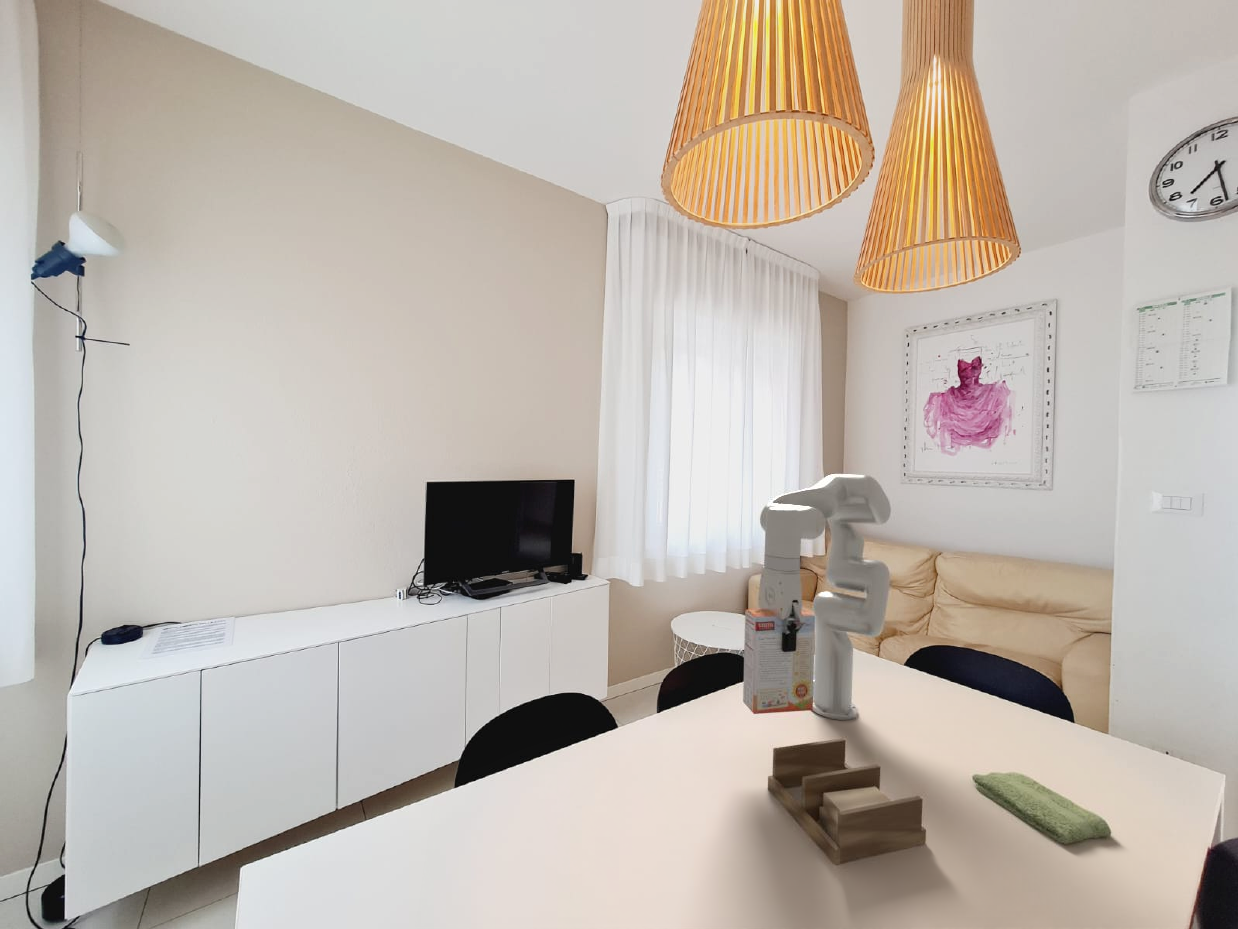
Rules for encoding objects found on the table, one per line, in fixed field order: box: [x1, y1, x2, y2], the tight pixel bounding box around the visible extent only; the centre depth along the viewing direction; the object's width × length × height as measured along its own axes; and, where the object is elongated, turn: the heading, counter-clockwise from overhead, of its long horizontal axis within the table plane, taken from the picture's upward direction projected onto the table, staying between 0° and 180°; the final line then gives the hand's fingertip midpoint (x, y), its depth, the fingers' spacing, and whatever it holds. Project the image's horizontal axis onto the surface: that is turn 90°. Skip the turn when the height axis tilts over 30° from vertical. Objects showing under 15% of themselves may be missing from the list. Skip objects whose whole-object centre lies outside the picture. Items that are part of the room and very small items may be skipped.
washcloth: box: [971, 771, 1112, 845], centre depth 94 cm, size 13×18×3 cm
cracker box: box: [742, 608, 815, 715], centre depth 106 cm, size 14×6×21 cm, turn 100°
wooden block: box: [818, 787, 892, 844], centre depth 86 cm, size 6×12×6 cm, turn 97°
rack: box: [767, 737, 927, 866], centre depth 91 cm, size 19×19×8 cm
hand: (779, 644), depth 106 cm, fingers closed on cracker box, 6 cm apart
